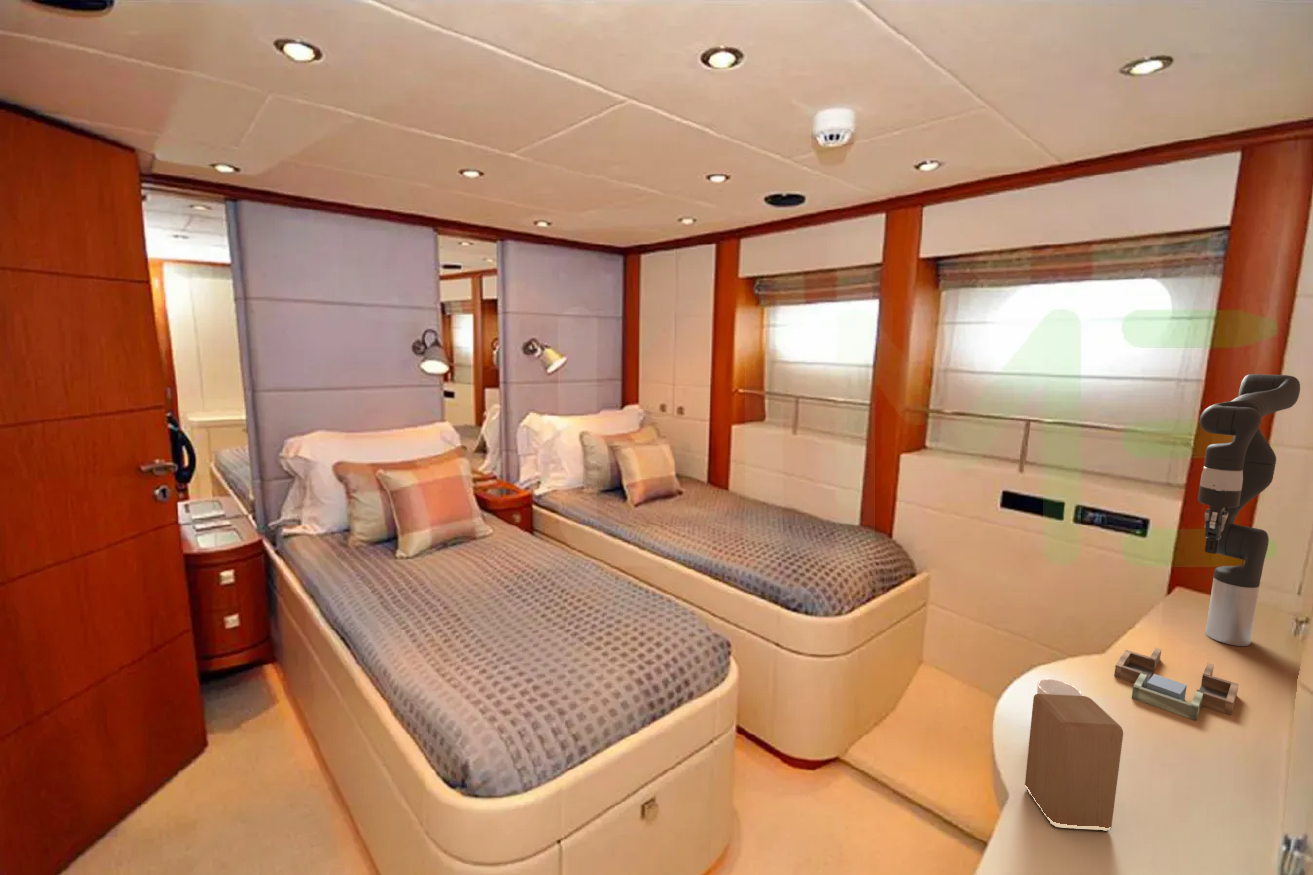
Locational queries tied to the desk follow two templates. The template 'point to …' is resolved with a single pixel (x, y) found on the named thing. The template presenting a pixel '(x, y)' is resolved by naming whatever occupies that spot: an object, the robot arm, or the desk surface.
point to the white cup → (1056, 688)
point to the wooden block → (1073, 760)
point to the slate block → (1167, 687)
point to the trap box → (1210, 695)
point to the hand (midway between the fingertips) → (1210, 552)
